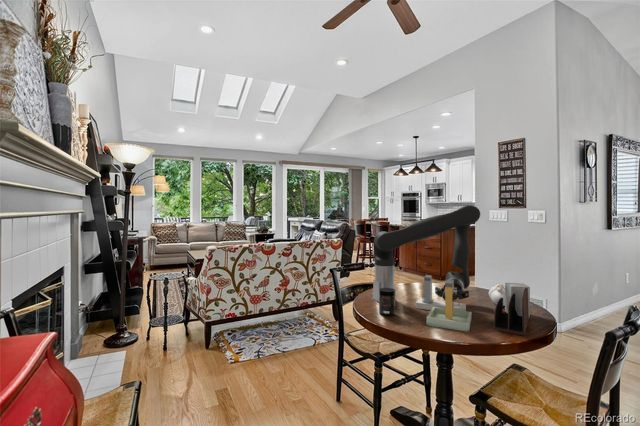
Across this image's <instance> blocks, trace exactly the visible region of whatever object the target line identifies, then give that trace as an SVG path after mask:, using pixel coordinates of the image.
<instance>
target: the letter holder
mask: <svg viewBox="0 0 640 426" xmlns="http://www.w3.org/2000/svg"><path fill="white" fill-rule="evenodd" d="M503 307H504V306H503V298H502V297H501V298H500V299H499V301H498V303H497V305H496V304H495V308H494V312H493V314H494V315H493V316H494V317H493V330H494V331H500V332H504V333H509V334H515V335H518V336H519V335H520V336H525V335H526V331H527V327H528V322H529V320H530V317H529V314H528V288H525V289H524V292H523V296H522V316H518V314H517V312H516V310H515V293H513V294H512V296H511V298H510V300H509V304H508V313H503Z"/></svg>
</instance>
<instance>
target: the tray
mask: <svg viewBox="0 0 640 426" xmlns="http://www.w3.org/2000/svg"><path fill="white" fill-rule="evenodd" d="M472 316H473V312H472V311H467V310H466V311H461V310H454V315H453V318H452V319H447V318H445V308H438V307H433V308H432V309H431V310H429V313H428V314H427V315H426V326H429V327H436V328H441V329H448V330H454V331H461V332H467V333H469V332H470V331H471V330H470V329H471V324H472Z"/></svg>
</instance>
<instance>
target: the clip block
mask: <svg viewBox="0 0 640 426" xmlns="http://www.w3.org/2000/svg"><path fill="white" fill-rule="evenodd" d="M433 307H438V308H445V300H438V299H432V301H431V304H428V303H424V297H423V298H421V297H419V298H418V299H417V300H416V302H415V308H416V309H418V310H419V309H422V310H427V311H431V309H432V308H433ZM454 310H461V311H467V303H461V302H454Z"/></svg>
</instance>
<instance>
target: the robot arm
mask: <svg viewBox="0 0 640 426" xmlns="http://www.w3.org/2000/svg"><path fill="white" fill-rule="evenodd" d="M480 218H481V211H480V209H479V208H478V207H477V206H475V205H472V204H471V205H470V204H469V205H468V204H467V205H464V206H461V207H460V208H457V210H453V211H451V212H448V213H444V214H439V215H433V216H429V217H426V218H423V219H420V220H416V221H415V222H413V223H411V224H409V225H408V226H406V227H403V228H402V229H397V230H392V231H386V230H384V231H379V232H377V233H376V234H375V236H374V238H373V258H374V279H373V282H372V286H373V287H372V290H373V291H372V292H373V293H372V296H373V297H372V298H373V299H374V301H376V302H378V303H379V289H380V288H392V289H395V259H394V253H393V251H394V250H395V249H398V248H399V247H403V246H405V245H406V244H410V243H414V242H415V243H416V242H417V241H418V242H419V241H422V240H425V239H426V240H427V239H430V238H432V237H435V236H438V235H440V234H442V233H446V232H447V231H450V230H451V229H453V228H454V229H455V231H454V232H455V233H454V236H455V237H454V248H453V254H452V261H451V265H452V266H453V267H455V268H458V269H461V271H462V272H457V271H449V272H447V273H446V274H445V275H446V276H445V281H446V280H454V293H453V295H452V301H456V300H457V299H458V300H463V299H468V298H470V290H468V288H469V287H470V283H471V281H470V274H469V259H470V249H471V248H470V242H469V232H470V227H471V225H474V224H475V223H477V222H478V221H479V219H480ZM434 293H435V294H436V295H437V296H438V297H440V298H442V299H443V301H445V284H444V285H443V287H442V288H439V287H437V286H436V287H434Z"/></svg>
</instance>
